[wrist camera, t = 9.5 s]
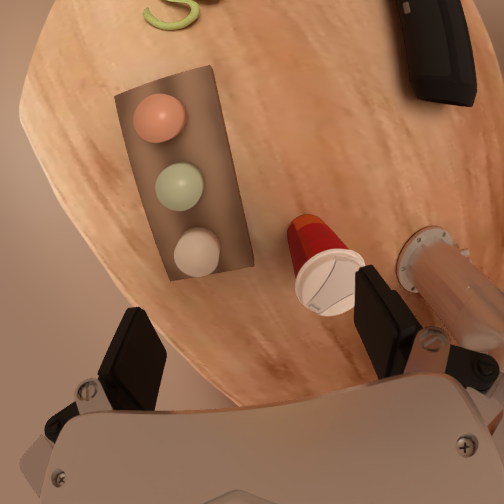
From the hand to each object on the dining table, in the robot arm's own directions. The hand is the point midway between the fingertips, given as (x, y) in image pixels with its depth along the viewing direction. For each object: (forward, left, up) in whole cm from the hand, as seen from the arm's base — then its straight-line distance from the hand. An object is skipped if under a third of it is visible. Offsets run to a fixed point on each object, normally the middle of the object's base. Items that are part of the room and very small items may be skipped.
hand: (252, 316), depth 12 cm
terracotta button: (+7, -10, -22) cm, 25 cm away
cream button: (+7, +6, -22) cm, 24 cm away
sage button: (+7, -2, -23) cm, 24 cm away
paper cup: (-7, +9, -26) cm, 29 cm away
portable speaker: (-29, -21, -27) cm, 45 cm away
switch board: (+7, -2, -26) cm, 27 cm away
